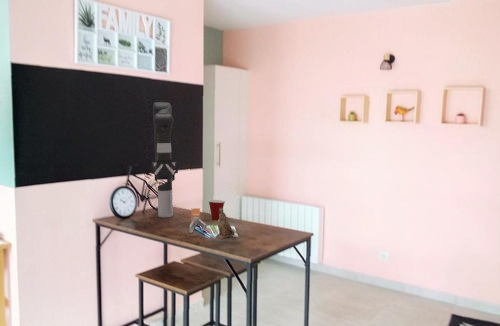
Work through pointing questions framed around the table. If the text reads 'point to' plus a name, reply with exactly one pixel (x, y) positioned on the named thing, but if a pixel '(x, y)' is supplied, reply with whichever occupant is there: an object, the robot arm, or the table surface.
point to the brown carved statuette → (224, 226)
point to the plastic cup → (215, 208)
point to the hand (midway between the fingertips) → (164, 181)
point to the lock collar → (195, 212)
